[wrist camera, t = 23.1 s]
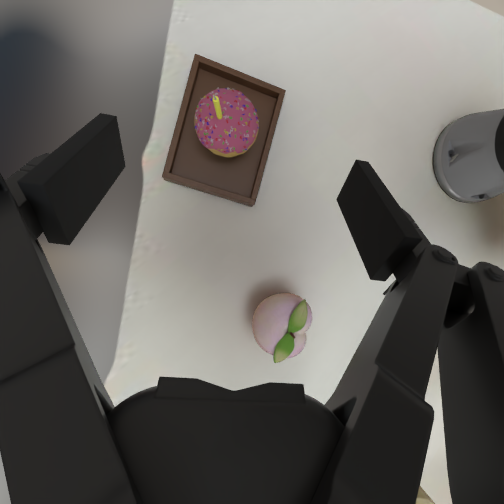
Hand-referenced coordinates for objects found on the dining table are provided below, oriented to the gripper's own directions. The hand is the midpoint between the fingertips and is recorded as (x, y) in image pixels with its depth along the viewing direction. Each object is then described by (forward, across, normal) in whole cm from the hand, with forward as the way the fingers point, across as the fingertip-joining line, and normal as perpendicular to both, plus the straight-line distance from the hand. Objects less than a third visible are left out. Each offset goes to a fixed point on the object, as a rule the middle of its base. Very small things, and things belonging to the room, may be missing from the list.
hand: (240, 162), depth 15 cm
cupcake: (+26, -2, -9) cm, 27 cm away
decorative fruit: (+8, +9, -29) cm, 32 cm away
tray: (+26, -2, -9) cm, 28 cm away
